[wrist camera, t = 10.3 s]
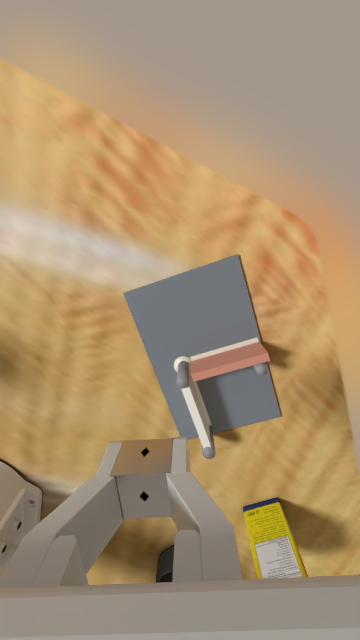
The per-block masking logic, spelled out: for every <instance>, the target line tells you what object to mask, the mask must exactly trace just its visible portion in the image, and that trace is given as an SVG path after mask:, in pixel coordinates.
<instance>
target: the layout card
mask: <svg viewBox="0 0 360 640" xmlns="http://www.w3.org/2000/svg"><path fill="white" fill-rule="evenodd" d="M124 296H125V298H126V301H127V303H128V306H129V308H130V311H131V313H132V316H133V318H134V321H135V323H136V326H137V328H138V331H139V333H140V336H141V338H142V341H143V343H144V346H145V348H146V351H147V353H148V356H149V358H150V361H151V364H152V366H153V369H154V371H155V374H156V376H157V379H158V381H159V384H160V386H161V389H162V391H163V394H164V396H165V399H166V401H167V404H168V406H169V409H170V411H171V414H172V416H173V419H174V421H175V424H176V426H177V429H178V431H179V434H180V436H181V437H187V440H189V439H193V438H197V437H199V435H198V433H197V430H196V427H195V425H194V422H193V419H192V417H191V414H190V411H189V409H188V406H187V403H186V401H185V398H184V395H183V393H182V390H181V388H179V387H178V386H177V384H176V381H177V372H178V364H179V362H181V361H186V362H187V363H188V364H189V371H190V374H191V361H194V360H197V359H201V358H204V357H208V356H211V355H215V354H218V353H222V352H225V351H229V350H232V349H235V348H239V347H242V346H246V345H249V344H253V343H256V342H260V343H261V339H260V335H259V331H258V328H257V324H256V320H255V316H254V313H253V309H252V305H251V301H250V298H249V294H248V290H247V286H246V282H245V279H244V275H243V271H242V267H241V264H240V260H239V256H238V254H237V255H234V256H231V257H228V258H226V259H223V260H220V261H217V262H214V263H211V264H208V265H205V266H202V267H199V268H196V269H193V270H190V271H187V272H184V273H181V274H178V275H175V276H172V277H169V278H167V279H164V280H161V281H158V282H155V283H152V284H149V285H146V286H143V287H140V288H137V289H134V290H131V291H128V292H125V293H124ZM261 344H262V343H261ZM264 365H265V366H266V368H267V373H266V374H265V375H263V376H260V375H258V374H257V372H256V370H255V368H254V367H253V366H249V367H245V368H242V369H238V370H235V371H231V372H227V373H224V374H220V375H216V376H213V377H209V378H206V379H202V380H198V381H195V382H194V381H193V383H194V385H195V388H196V391H197V394H198V397H199V399H200V402H201V405H202V408H203V411H204V413H205V416H206V419H207V422H208V424H209V426H211V427H212V431H213V433H217V432H221V431H225V430H229V429H233V428H237V427H241V426H245V425H249V424H254V423H258V422H262V421H266V420H270V419H274V418H278V417H281V415H280V411H279V407H278V403H277V399H276V396H275V392H274V388H273V384H272V381H271V377H270V373H269V369H268V365H267V362H264ZM191 377H192V376H191ZM192 380H193V379H192Z"/></svg>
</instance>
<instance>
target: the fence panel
mask: <svg viewBox="0 0 360 640" xmlns="http://www.w3.org/2000/svg"><path fill="white" fill-rule="evenodd" d="M267 361H270V358H269V354H268V352H267V351H266V349H265V348H264V347H263V346H262V344H261V343H260V342H256V343H253V344H249V345H246V346H242V347H239V348H235V349H232V350H229V351H225V352H222V353H218V354H215V355H211V356H208V357H204V358H201V359H197V360H194V361H191V376H192V379H193V381H194V382H195V381H198V380H202V379H206V378H209V377H213V376H216V375H220V374H224V373H227V372H231V371H235V370H238V369H242V368H245V367H249V366H253V365H256V364H260V363H264V362H267Z"/></svg>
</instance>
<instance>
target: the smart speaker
mask: <svg viewBox="0 0 360 640" xmlns="http://www.w3.org/2000/svg"><path fill="white" fill-rule="evenodd" d="M173 561H174V546H172V547H170V548H168V549H166V550H165V551H164V552H163V553H162V554H161V555H160V557H159V560H158V565H157V575H156V583H164V582H172V580H173Z"/></svg>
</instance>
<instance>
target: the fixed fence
mask: <svg viewBox="0 0 360 640" xmlns="http://www.w3.org/2000/svg"><path fill="white" fill-rule="evenodd" d="M253 367H254V368H255V370H256V372H257V374H258V375H260V376H263V375H265V374H266V373H267V368H266V366H265V365H264V363H260V364H256V365H253ZM176 384H177V386H178V387H179V388H181V390H182V393H183V395H184V398H185V401H186V403H187V406H188V409H189V411H190V414H191V417H192V419H193V422H194V425H195V427H196V430H197V433H198V435H199V438H200V441H201V443H202V451H203V456H204V457H205V458H207V459H211V458H213V457H214V456H215V447H214V439H213V431H212V427H211V426H209V424H208V422H207V419H206V416H205V413H204V411H203V408H202V405H201V402H200V399H199V397H198V394H197V391H196V388H195V385H194V383H193V380H192V377H191V374H190V371H189V364H188V363H187V362H186V361H181V362H179V364H178V372H177V381H176Z"/></svg>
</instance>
